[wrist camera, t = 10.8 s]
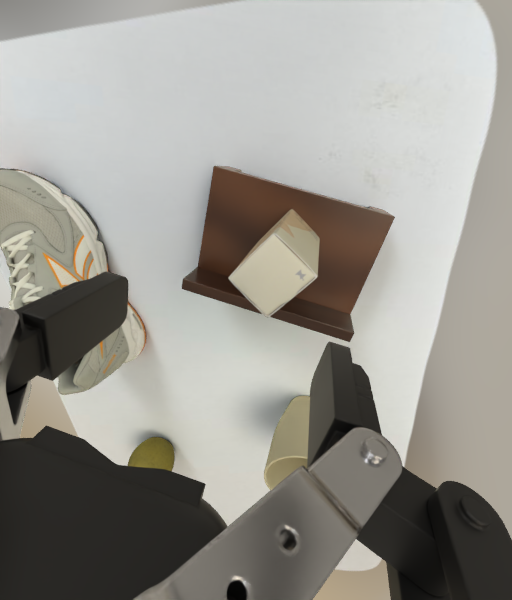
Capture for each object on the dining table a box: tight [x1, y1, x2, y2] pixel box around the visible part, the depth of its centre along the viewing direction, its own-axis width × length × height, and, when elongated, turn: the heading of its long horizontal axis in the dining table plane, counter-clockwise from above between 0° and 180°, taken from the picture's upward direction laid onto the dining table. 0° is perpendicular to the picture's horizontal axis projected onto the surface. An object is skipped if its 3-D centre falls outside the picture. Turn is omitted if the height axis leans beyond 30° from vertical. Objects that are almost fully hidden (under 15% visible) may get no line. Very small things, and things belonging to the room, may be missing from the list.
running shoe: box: [0, 169, 146, 395], centre depth 36 cm, size 11×30×14 cm, turn 25°
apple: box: [128, 437, 174, 471], centre depth 52 cm, size 8×8×7 cm
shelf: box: [182, 166, 395, 342], centre depth 30 cm, size 12×18×9 cm, turn 76°
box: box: [228, 209, 320, 317], centre depth 25 cm, size 5×4×11 cm
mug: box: [264, 396, 310, 490], centre depth 39 cm, size 11×10×12 cm
